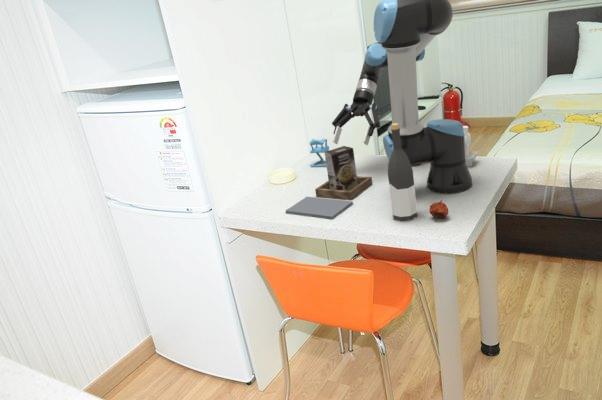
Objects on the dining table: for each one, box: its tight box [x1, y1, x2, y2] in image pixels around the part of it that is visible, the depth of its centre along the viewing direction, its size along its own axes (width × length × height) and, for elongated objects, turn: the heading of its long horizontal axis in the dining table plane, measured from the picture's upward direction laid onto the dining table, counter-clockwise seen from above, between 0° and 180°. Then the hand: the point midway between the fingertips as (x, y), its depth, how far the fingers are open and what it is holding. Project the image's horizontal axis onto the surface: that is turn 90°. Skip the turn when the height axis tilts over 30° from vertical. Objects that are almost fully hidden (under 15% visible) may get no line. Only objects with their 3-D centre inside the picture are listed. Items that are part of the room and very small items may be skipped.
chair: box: [309, 138, 330, 168], centre depth 225 cm, size 8×8×12 cm
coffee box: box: [324, 145, 358, 191], centre depth 189 cm, size 9×6×16 cm
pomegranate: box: [428, 199, 449, 223], centre depth 155 cm, size 6×6×8 cm
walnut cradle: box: [314, 175, 373, 201], centre depth 191 cm, size 15×15×3 cm
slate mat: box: [285, 196, 354, 220], centre depth 180 cm, size 20×13×1 cm, turn 54°
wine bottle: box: [387, 123, 418, 222], centre depth 157 cm, size 8×8×30 cm
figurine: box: [463, 125, 478, 167], centre depth 193 cm, size 7×9×15 cm
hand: (349, 143), depth 193 cm, fingers open, 13 cm apart
